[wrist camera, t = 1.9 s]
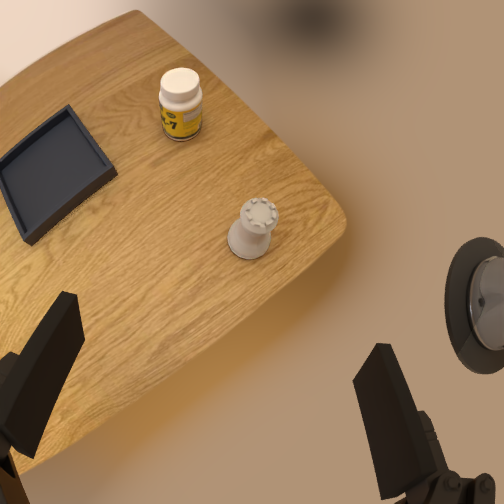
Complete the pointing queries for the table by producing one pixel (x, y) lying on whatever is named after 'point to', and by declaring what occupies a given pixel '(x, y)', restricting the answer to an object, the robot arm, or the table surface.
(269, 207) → the rook chess piece
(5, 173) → the dark tray
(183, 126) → the supplement bottle
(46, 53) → the table surface
